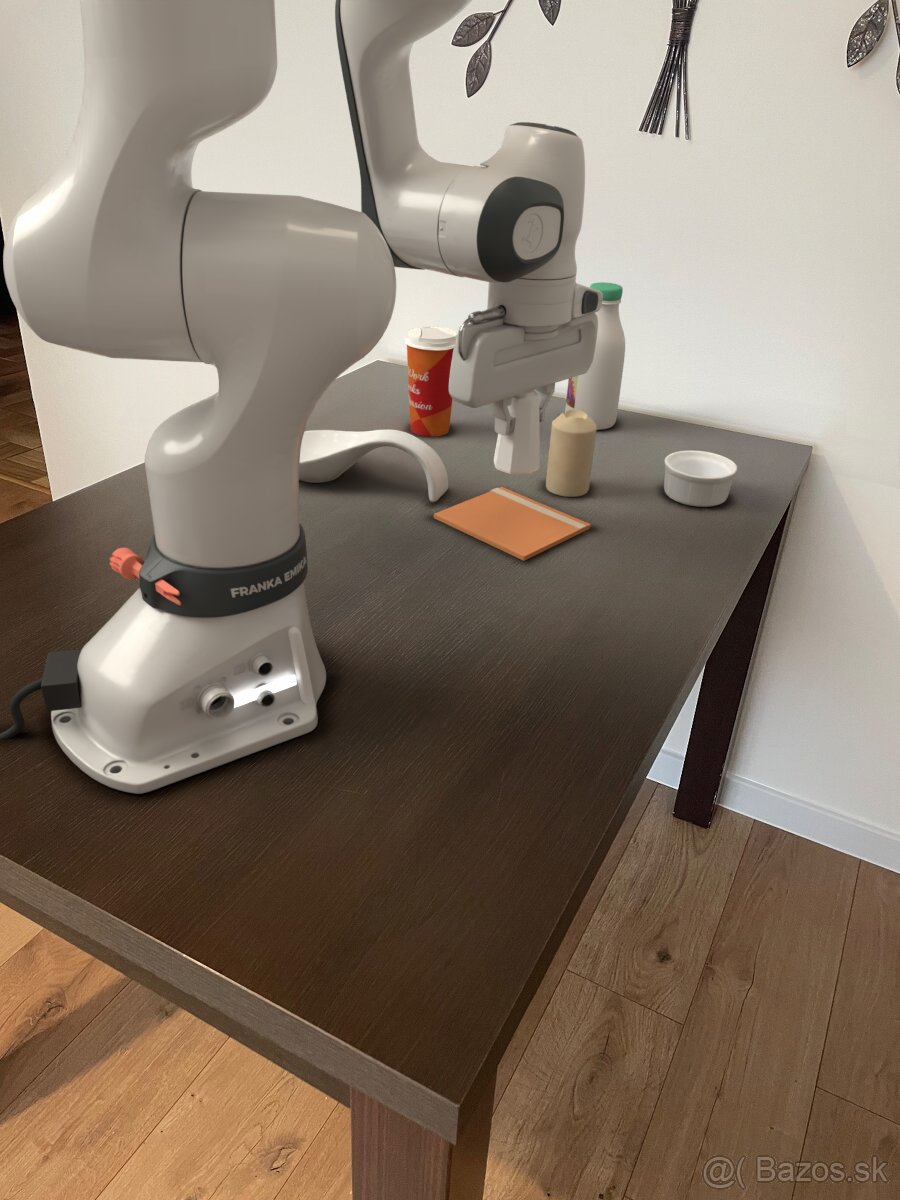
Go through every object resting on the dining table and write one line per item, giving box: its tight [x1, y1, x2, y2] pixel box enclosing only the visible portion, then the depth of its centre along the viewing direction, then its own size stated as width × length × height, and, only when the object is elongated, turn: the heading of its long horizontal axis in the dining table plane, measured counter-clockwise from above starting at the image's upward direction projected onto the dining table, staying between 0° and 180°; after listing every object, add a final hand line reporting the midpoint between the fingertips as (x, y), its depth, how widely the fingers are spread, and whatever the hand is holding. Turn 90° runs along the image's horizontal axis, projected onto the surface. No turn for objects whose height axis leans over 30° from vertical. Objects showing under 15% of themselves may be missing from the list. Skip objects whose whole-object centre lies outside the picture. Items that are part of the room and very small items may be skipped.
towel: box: [433, 486, 592, 562], centre depth 108 cm, size 12×14×1 cm
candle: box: [545, 410, 598, 498], centre depth 115 cm, size 6×6×10 cm
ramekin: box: [663, 450, 738, 508], centre depth 116 cm, size 9×9×4 cm
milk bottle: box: [564, 281, 626, 431], centre depth 134 cm, size 8×8×20 cm
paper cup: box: [404, 325, 458, 437], centre depth 130 cm, size 8×8×14 cm
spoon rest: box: [299, 429, 449, 503], centre depth 115 cm, size 24×12×7 cm, turn 70°
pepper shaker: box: [493, 389, 541, 476], centre depth 101 cm, size 5×5×11 cm
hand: (519, 427), depth 102 cm, fingers closed on pepper shaker, 4 cm apart
